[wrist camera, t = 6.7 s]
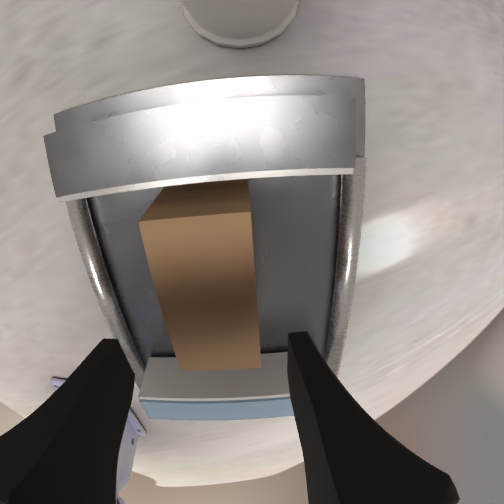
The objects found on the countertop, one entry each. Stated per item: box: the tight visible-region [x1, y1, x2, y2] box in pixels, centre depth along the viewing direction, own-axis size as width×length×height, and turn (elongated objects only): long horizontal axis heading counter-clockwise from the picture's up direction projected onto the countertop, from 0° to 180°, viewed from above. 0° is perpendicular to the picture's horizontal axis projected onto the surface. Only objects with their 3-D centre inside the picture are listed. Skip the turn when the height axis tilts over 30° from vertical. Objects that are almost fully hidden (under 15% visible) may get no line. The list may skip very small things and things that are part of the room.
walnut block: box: [138, 179, 261, 371], centre depth 15 cm, size 8×4×5 cm, turn 4°
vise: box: [44, 75, 366, 389], centre depth 16 cm, size 20×16×5 cm
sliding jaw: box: [139, 352, 294, 420], centre depth 19 cm, size 2×12×4 cm, turn 94°
